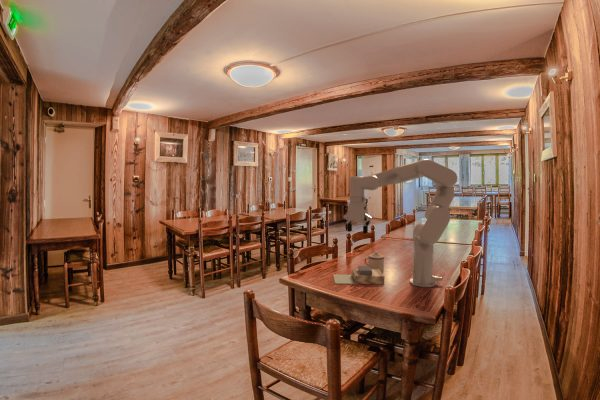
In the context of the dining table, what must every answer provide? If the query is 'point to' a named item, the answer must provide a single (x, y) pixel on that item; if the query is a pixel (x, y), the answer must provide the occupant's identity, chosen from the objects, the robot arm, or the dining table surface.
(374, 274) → the board
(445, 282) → the dining table surface
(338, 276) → the placemat
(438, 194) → the robot arm
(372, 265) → the teacup with lid
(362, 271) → the coaster
